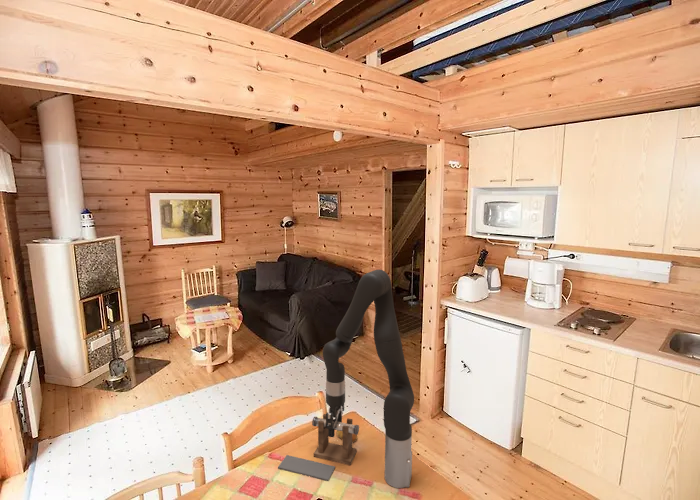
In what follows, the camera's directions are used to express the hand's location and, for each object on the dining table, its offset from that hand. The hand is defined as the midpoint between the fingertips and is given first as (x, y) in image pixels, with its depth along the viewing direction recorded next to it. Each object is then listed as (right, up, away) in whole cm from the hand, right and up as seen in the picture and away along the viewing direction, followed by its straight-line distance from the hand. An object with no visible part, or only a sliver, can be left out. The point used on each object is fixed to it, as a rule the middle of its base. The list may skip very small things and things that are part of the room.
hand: (335, 430), depth 138 cm
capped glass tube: (0, +2, 0) cm, 2 cm away
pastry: (+4, -9, +13) cm, 16 cm away
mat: (-10, -11, -7) cm, 16 cm away
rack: (0, -10, +1) cm, 10 cm away
